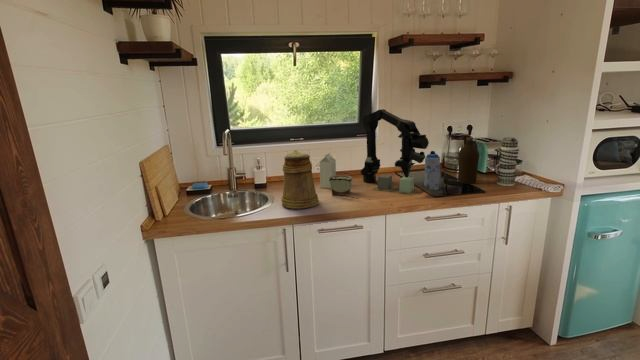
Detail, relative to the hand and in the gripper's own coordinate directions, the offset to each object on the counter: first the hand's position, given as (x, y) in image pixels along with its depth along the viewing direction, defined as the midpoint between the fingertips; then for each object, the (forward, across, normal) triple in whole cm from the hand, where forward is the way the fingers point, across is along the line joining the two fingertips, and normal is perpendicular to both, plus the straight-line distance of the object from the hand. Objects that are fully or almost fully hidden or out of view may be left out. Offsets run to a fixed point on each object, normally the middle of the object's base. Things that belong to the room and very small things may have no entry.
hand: (406, 177), depth 177 cm
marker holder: (+9, 0, +6) cm, 11 cm away
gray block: (+7, 0, +12) cm, 14 cm away
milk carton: (+9, -6, +44) cm, 45 cm away
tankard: (+9, -36, +42) cm, 56 cm away
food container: (+9, -16, +29) cm, 34 cm away
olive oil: (+9, +36, -22) cm, 43 cm away
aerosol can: (+9, +16, -8) cm, 20 cm away
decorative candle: (+9, +40, -41) cm, 58 cm away
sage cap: (+7, 0, 0) cm, 7 cm away
